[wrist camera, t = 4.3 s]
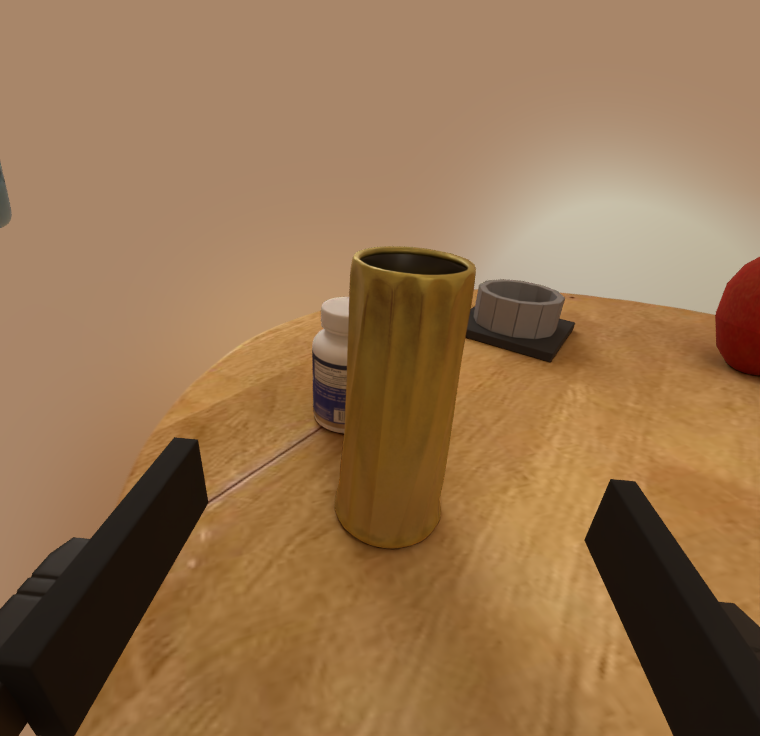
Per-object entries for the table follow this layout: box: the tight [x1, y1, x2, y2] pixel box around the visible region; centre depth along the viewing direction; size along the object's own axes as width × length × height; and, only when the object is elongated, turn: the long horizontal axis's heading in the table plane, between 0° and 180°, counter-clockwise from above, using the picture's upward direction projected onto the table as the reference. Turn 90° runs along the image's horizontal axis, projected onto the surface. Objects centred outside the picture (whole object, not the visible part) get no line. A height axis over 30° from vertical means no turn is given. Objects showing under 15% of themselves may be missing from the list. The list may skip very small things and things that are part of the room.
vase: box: [335, 246, 476, 548], centre depth 21 cm, size 6×6×14 cm
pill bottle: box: [312, 297, 349, 433], centre depth 30 cm, size 5×5×9 cm
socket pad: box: [465, 279, 575, 362], centre depth 49 cm, size 12×12×5 cm
